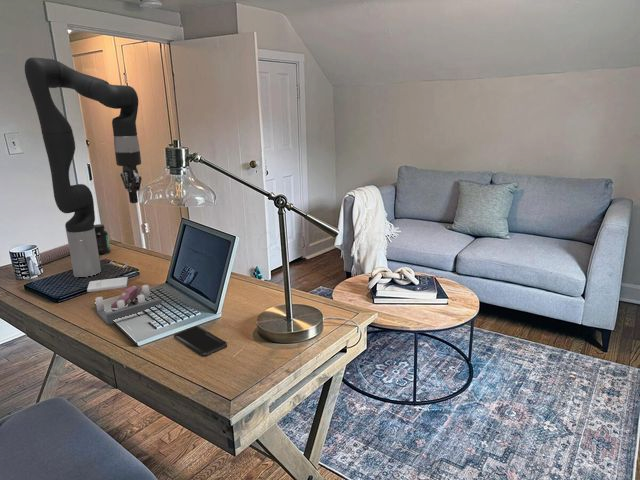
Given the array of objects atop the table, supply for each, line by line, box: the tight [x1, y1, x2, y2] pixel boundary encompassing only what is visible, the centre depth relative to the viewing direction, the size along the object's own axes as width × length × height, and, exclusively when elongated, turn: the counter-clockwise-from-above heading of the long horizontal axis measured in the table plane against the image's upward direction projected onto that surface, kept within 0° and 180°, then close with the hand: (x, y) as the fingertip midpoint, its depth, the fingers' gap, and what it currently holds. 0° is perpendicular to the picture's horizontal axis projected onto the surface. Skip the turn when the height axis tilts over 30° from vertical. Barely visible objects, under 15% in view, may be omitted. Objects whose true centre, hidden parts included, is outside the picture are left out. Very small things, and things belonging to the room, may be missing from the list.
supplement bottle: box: [94, 223, 111, 256], centre depth 193 cm, size 7×7×12 cm
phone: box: [173, 325, 228, 358], centre depth 121 cm, size 8×1×15 cm
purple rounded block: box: [110, 285, 142, 308], centre depth 143 cm, size 10×5×7 cm, turn 172°
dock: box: [94, 284, 162, 326], centre depth 139 cm, size 10×16×5 cm, turn 132°
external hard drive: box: [86, 276, 129, 293], centre depth 160 cm, size 2×8×12 cm
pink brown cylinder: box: [38, 243, 70, 266], centre depth 186 cm, size 5×5×18 cm
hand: (134, 202), depth 153 cm, fingers closed
